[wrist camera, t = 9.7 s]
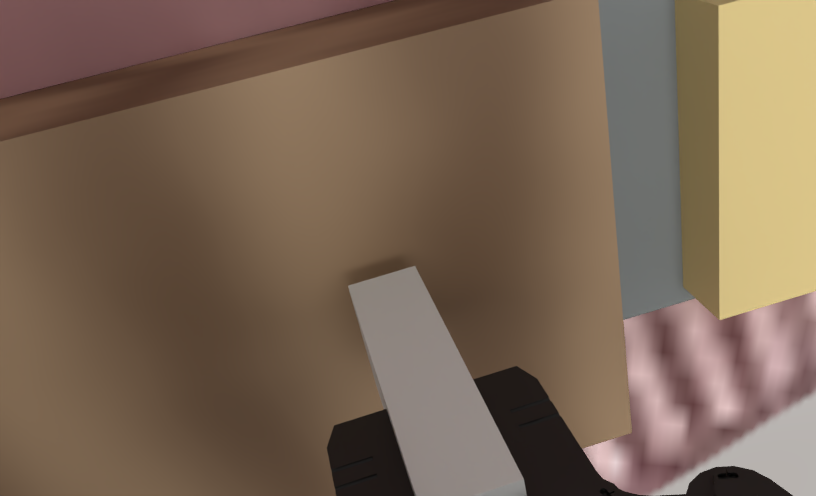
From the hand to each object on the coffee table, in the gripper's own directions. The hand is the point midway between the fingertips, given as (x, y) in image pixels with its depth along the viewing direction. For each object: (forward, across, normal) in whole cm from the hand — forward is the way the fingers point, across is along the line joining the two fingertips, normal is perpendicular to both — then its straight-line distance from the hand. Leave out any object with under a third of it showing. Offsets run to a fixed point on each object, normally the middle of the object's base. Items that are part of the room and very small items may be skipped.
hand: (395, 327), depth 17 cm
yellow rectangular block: (+2, +12, 0) cm, 13 cm away
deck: (+5, -4, 0) cm, 7 cm away
